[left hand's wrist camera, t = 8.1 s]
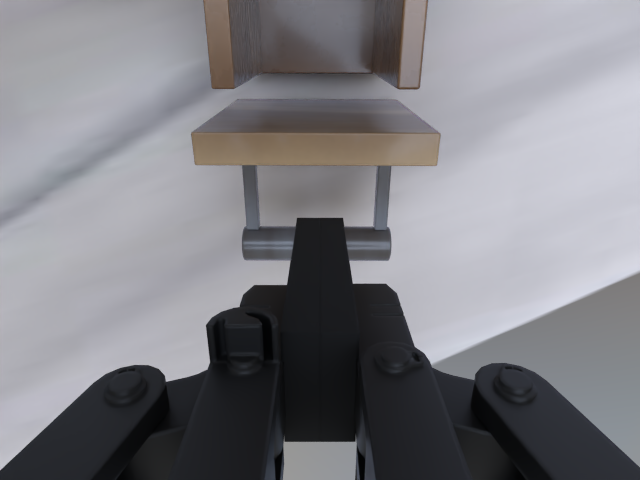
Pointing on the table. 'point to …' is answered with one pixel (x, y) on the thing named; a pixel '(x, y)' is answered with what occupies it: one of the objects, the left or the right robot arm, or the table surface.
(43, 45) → the table surface
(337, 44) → the drawer
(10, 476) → the left robot arm
